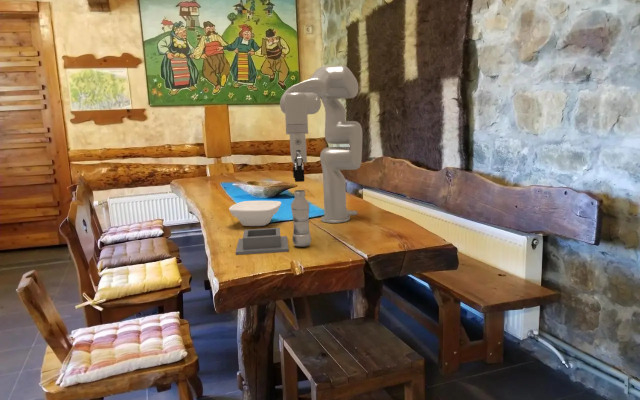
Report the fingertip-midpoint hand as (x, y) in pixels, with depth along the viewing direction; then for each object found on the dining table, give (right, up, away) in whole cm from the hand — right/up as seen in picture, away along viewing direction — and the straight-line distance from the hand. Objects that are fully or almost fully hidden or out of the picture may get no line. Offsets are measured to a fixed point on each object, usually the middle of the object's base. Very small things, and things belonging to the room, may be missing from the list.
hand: (298, 179), depth 165 cm
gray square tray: (-13, -24, +7) cm, 28 cm away
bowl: (-20, -18, +40) cm, 48 cm away
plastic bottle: (+1, -24, +5) cm, 24 cm away
